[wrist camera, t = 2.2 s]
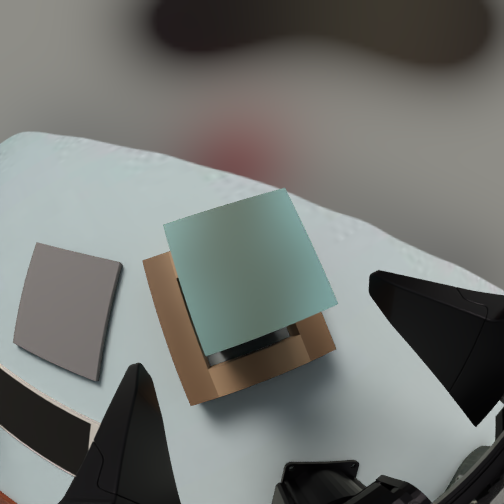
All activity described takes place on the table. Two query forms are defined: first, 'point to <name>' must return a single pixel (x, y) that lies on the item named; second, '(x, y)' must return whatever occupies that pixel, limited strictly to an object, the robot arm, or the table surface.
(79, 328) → the mat
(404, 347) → the table surface
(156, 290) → the pocket block
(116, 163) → the table surface
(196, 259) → the peg
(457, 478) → the communication device
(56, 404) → the smartphone
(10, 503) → the picture frame
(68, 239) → the table surface
